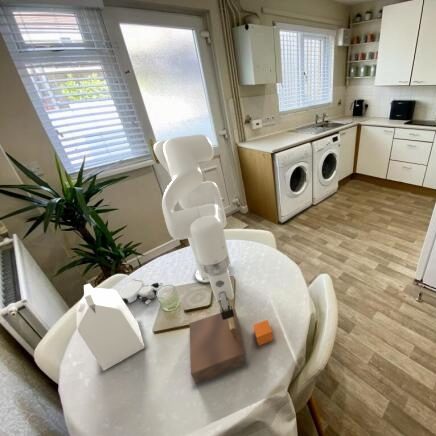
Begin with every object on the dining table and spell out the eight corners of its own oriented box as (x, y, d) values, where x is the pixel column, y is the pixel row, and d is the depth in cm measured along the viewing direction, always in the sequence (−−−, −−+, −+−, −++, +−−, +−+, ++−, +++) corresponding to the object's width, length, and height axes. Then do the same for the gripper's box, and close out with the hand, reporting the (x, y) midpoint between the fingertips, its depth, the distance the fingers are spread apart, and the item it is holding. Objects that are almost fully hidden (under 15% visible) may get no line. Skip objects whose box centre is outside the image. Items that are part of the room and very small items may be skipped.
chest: (235, 320, 88) (233, 310, 86) (245, 365, 74) (243, 355, 71) (193, 334, 84) (190, 324, 81) (196, 385, 69) (191, 375, 67)
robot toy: (166, 286, 106) (132, 284, 106) (163, 279, 103) (129, 277, 104) (150, 309, 95) (113, 307, 95) (147, 301, 93) (109, 299, 93)
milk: (144, 347, 80) (112, 291, 67) (103, 370, 74) (60, 314, 61) (138, 323, 89) (108, 270, 76) (100, 342, 82) (61, 288, 70)
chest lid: (235, 309, 86) (233, 299, 83) (245, 354, 71) (243, 343, 69) (189, 324, 81) (186, 314, 79) (191, 375, 67) (186, 365, 64)
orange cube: (268, 329, 84) (267, 319, 82) (273, 341, 80) (271, 331, 78) (255, 334, 83) (253, 324, 80) (258, 346, 79) (257, 337, 76)
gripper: (234, 278, 58) (244, 323, 66) (224, 240, 72) (233, 281, 80) (202, 288, 55) (216, 333, 64) (198, 246, 69) (210, 288, 78)
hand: (225, 304), depth 72 cm, fingers open, 9 cm apart
